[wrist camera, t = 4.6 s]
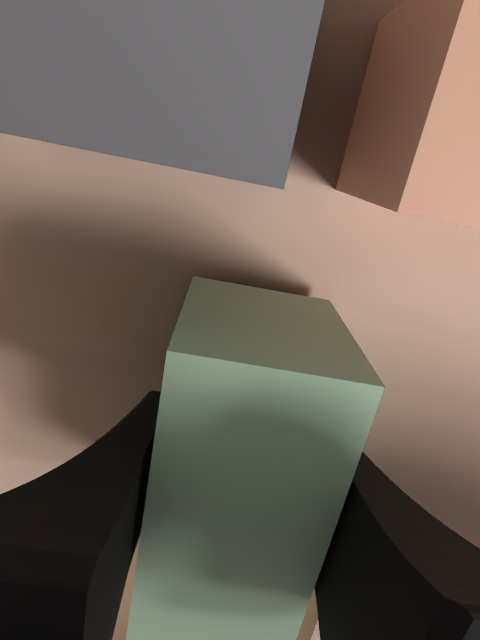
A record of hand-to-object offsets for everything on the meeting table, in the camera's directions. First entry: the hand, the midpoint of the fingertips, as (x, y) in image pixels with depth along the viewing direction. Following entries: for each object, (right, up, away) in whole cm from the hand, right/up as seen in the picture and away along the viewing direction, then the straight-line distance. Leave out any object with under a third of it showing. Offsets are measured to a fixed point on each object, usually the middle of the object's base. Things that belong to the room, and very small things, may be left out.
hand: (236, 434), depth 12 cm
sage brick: (0, +1, +1) cm, 2 cm away
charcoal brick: (-2, +10, -1) cm, 10 cm away
